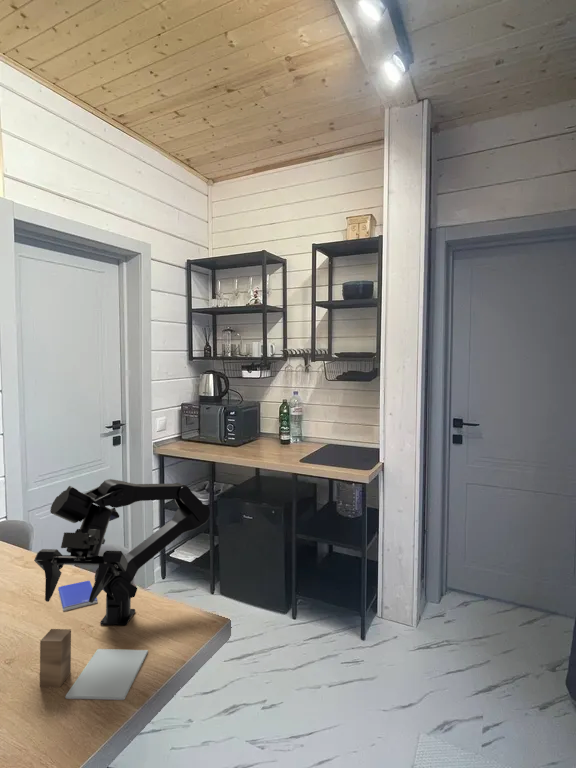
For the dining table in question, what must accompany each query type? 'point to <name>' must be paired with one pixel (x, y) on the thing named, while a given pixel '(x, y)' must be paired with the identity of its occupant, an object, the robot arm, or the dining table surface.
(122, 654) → the mat
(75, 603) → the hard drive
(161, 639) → the dining table surface
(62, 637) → the walnut block
